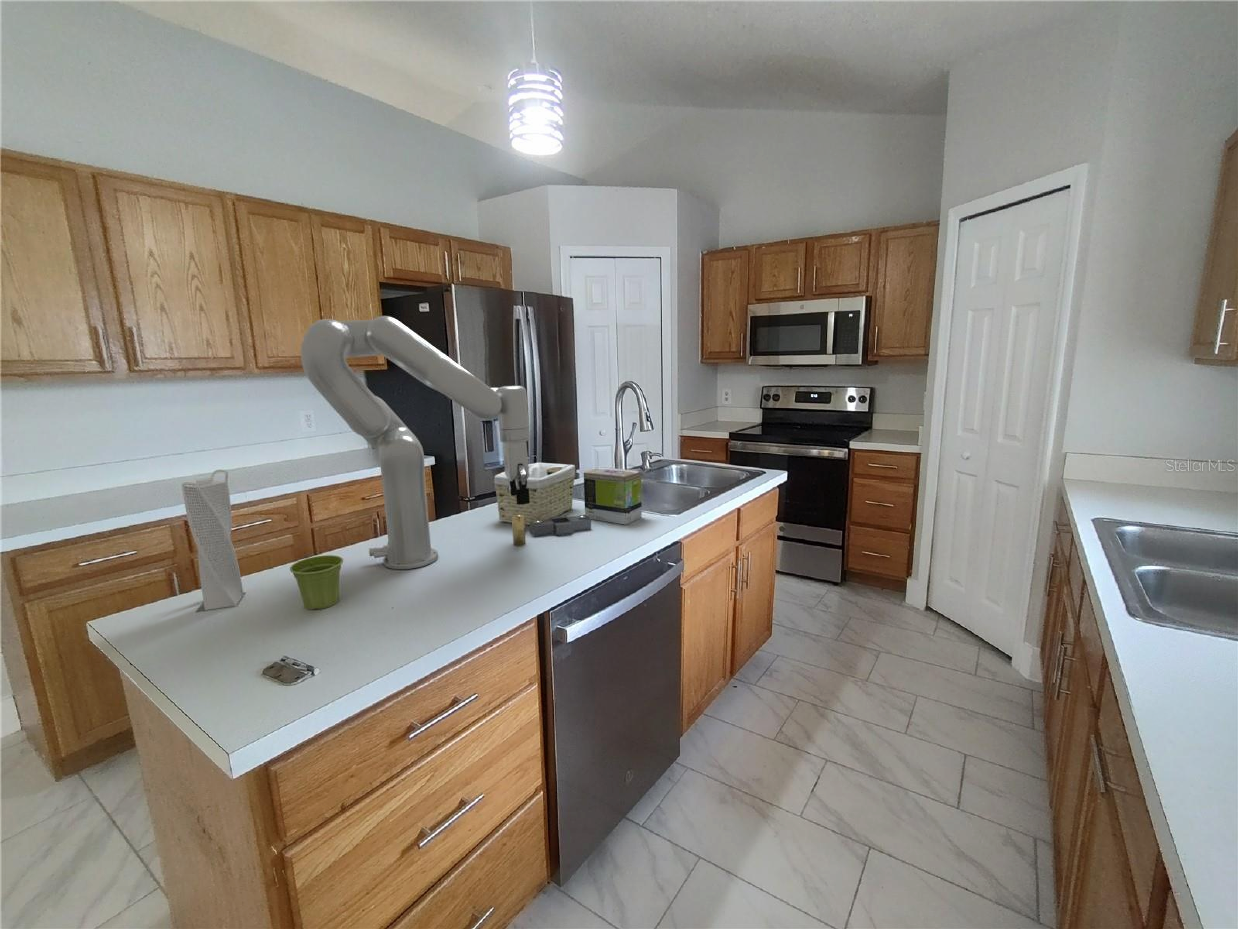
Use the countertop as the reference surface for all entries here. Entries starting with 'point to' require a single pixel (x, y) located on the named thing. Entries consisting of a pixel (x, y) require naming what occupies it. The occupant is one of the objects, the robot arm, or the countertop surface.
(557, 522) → the grey metal bracket
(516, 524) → the brass pin
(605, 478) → the tea box
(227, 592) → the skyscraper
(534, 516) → the storage basket
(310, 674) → the countertop surface
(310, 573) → the plant pot
